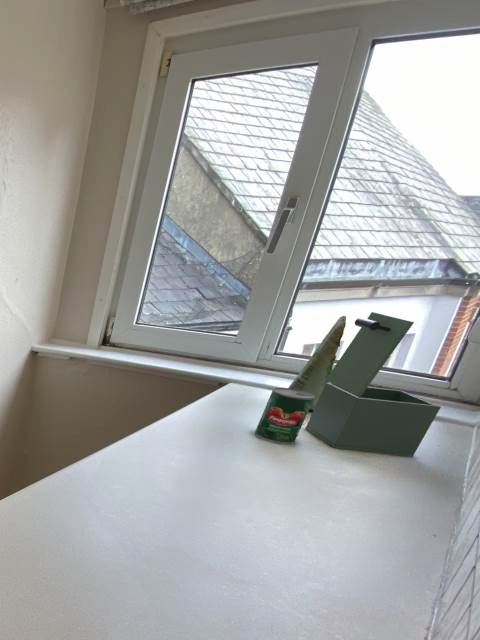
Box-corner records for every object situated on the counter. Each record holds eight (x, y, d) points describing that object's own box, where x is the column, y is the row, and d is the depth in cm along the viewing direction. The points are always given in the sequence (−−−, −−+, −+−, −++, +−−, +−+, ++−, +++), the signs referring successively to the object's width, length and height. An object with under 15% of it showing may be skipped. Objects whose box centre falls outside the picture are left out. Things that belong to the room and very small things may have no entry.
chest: (376, 437, 133) (401, 390, 128) (412, 457, 122) (441, 406, 117) (304, 428, 136) (326, 382, 131) (333, 447, 125) (357, 398, 120)
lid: (375, 312, 123) (353, 307, 123) (414, 322, 112) (389, 316, 112) (328, 381, 130) (307, 375, 131) (360, 396, 119) (338, 390, 120)
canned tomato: (264, 441, 126) (284, 396, 121) (247, 429, 133) (265, 386, 128) (302, 445, 125) (323, 399, 120) (283, 433, 132) (303, 389, 127)
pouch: (302, 401, 158) (342, 312, 147) (339, 415, 147) (384, 320, 136) (267, 400, 157) (304, 310, 146) (300, 414, 147) (343, 318, 135)
